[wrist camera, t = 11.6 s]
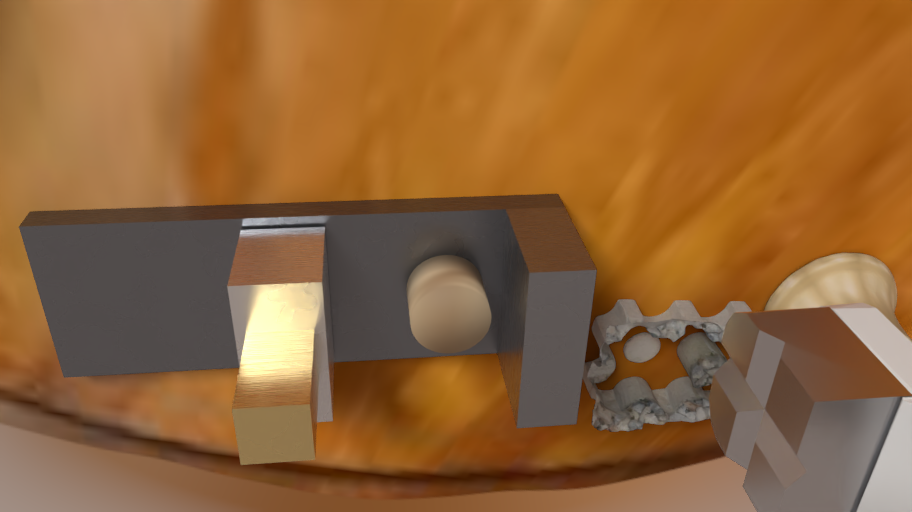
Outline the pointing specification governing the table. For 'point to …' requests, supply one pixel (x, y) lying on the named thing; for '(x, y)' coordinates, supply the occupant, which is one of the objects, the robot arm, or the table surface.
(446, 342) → the hazelnut
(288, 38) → the table surface
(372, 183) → the table surface
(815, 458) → the robot arm
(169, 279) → the press base
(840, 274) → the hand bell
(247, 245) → the block
